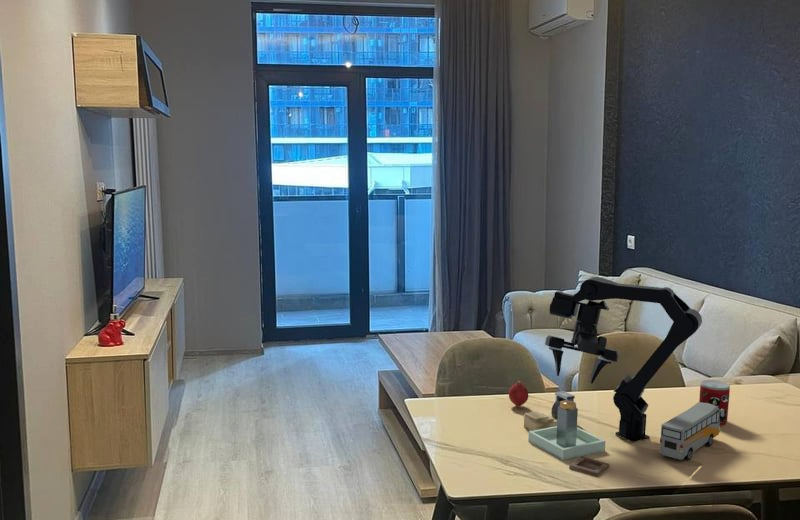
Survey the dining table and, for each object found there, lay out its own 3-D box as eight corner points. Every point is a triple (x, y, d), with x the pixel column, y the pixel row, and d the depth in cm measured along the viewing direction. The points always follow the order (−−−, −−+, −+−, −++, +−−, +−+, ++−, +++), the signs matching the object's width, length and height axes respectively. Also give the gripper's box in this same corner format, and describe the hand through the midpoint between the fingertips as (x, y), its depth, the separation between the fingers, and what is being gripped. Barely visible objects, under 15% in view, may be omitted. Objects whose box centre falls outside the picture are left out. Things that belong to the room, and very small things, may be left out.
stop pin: (567, 440, 188) (568, 399, 187) (577, 445, 185) (579, 404, 183) (554, 442, 186) (556, 401, 185) (565, 448, 183) (567, 406, 182)
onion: (508, 402, 220) (509, 377, 219) (527, 404, 219) (528, 378, 218) (508, 409, 214) (509, 383, 213) (528, 410, 213) (529, 384, 212)
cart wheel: (567, 418, 207) (568, 389, 206) (579, 424, 202) (580, 394, 201) (547, 422, 204) (549, 393, 203) (559, 428, 199) (560, 398, 198)
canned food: (698, 423, 204) (700, 385, 203) (697, 414, 212) (700, 378, 210) (727, 427, 201) (730, 389, 200) (726, 418, 209) (729, 381, 207)
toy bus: (722, 440, 192) (724, 403, 191) (682, 467, 174) (685, 428, 173) (696, 433, 197) (699, 397, 196) (655, 459, 179) (658, 420, 177)
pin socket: (581, 460, 177) (581, 456, 177) (609, 468, 173) (609, 463, 173) (569, 470, 172) (569, 465, 172) (597, 478, 168) (597, 473, 167)
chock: (548, 423, 204) (548, 408, 203) (559, 429, 199) (560, 414, 199) (523, 428, 200) (524, 413, 199) (535, 434, 195) (535, 419, 195)
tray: (568, 434, 195) (569, 423, 194) (604, 452, 183) (605, 440, 182) (528, 442, 189) (528, 431, 188) (562, 461, 177) (563, 450, 176)
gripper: (559, 317, 188) (546, 375, 188) (629, 333, 188) (616, 392, 187) (550, 314, 199) (538, 370, 199) (617, 330, 199) (605, 385, 198)
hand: (574, 379), depth 196 cm, fingers open, 9 cm apart
